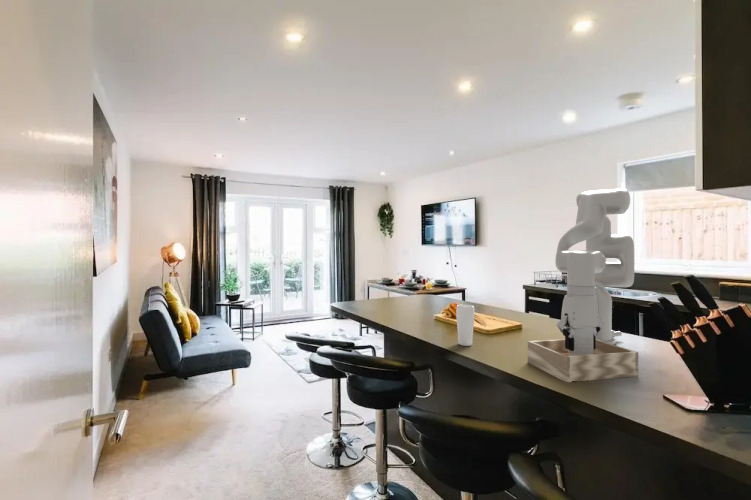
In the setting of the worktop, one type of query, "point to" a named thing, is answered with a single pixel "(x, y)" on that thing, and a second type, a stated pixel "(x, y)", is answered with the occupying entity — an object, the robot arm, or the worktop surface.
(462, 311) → the drinking glass
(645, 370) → the worktop surface
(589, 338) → the skincare box
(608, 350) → the box
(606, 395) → the worktop surface
